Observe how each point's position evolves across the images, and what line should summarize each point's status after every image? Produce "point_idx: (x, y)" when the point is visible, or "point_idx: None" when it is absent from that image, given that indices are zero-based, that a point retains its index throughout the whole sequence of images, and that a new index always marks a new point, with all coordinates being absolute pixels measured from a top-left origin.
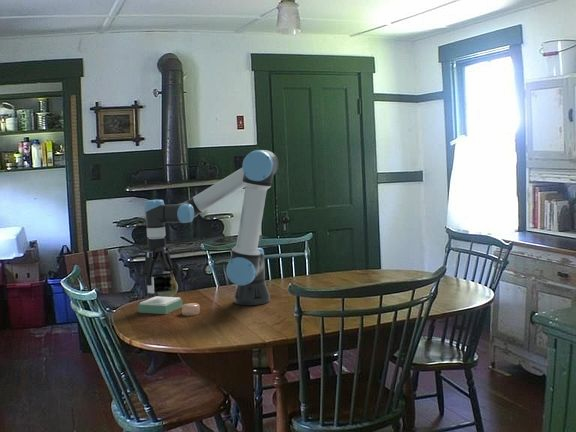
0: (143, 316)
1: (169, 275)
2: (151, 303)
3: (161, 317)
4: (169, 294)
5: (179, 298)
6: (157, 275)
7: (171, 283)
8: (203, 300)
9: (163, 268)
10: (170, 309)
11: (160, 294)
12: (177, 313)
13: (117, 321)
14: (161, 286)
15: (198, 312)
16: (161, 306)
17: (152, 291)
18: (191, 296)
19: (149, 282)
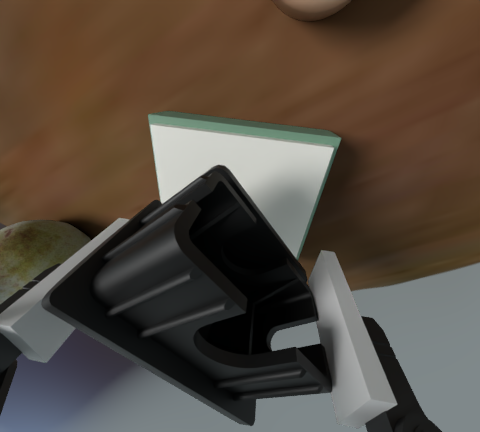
0: (357, 216)
1: (85, 278)
2: (305, 228)
3: (402, 122)
4: (73, 233)
5: (163, 125)
6: (187, 367)
7: (16, 256)
8: (10, 48)
9: (2, 406)
10: (284, 126)
11: None
12: (316, 62)
13: (421, 272)
14: (216, 254)
15: None
16: (331, 165)
17: (336, 266)
18: (5, 159)
19: (392, 353)
